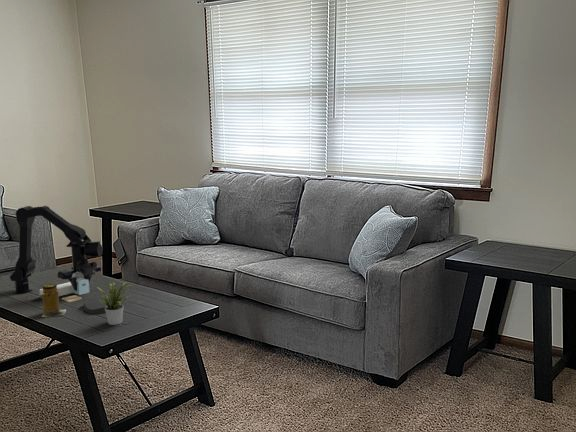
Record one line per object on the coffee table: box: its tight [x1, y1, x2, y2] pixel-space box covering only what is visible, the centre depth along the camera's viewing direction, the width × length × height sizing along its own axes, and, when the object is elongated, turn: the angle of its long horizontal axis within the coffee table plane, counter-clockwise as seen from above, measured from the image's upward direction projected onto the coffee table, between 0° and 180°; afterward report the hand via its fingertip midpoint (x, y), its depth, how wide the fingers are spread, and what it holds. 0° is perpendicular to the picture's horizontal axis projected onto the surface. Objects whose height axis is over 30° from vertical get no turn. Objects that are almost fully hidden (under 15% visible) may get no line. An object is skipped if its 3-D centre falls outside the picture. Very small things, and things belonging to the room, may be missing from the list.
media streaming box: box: [83, 295, 124, 315], centre depth 230 cm, size 15×15×3 cm
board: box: [61, 294, 83, 303], centre depth 240 cm, size 6×6×1 cm
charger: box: [73, 277, 90, 296], centre depth 250 cm, size 7×5×6 cm
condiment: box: [41, 283, 67, 318], centre depth 222 cm, size 7×8×12 cm
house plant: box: [96, 281, 132, 326], centre depth 210 cm, size 14×14×16 cm
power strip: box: [28, 281, 75, 301], centre depth 246 cm, size 8×25×4 cm, turn 141°
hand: (81, 289), depth 250 cm, fingers closed on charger, 5 cm apart
